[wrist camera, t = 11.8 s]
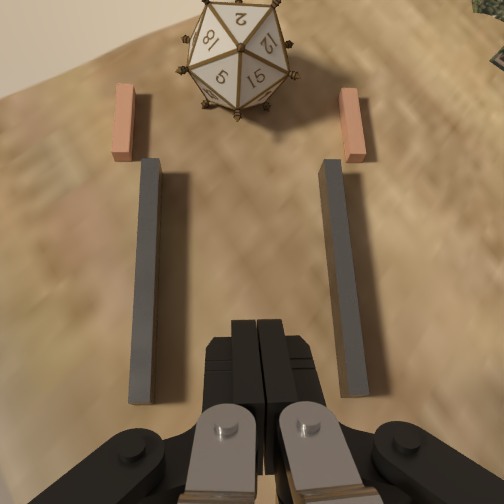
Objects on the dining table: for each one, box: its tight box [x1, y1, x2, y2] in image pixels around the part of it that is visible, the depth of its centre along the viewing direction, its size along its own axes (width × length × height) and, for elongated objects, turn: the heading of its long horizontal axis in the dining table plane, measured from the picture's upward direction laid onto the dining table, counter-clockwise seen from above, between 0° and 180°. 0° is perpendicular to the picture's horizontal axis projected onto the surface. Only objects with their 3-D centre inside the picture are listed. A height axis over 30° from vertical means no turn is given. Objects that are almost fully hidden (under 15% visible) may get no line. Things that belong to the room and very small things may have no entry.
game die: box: [176, 0, 301, 122], centre depth 33 cm, size 9×8×10 cm
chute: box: [128, 158, 369, 405], centre depth 30 cm, size 14×16×2 cm
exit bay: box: [111, 84, 366, 163], centre depth 35 cm, size 18×6×1 cm, turn 92°
